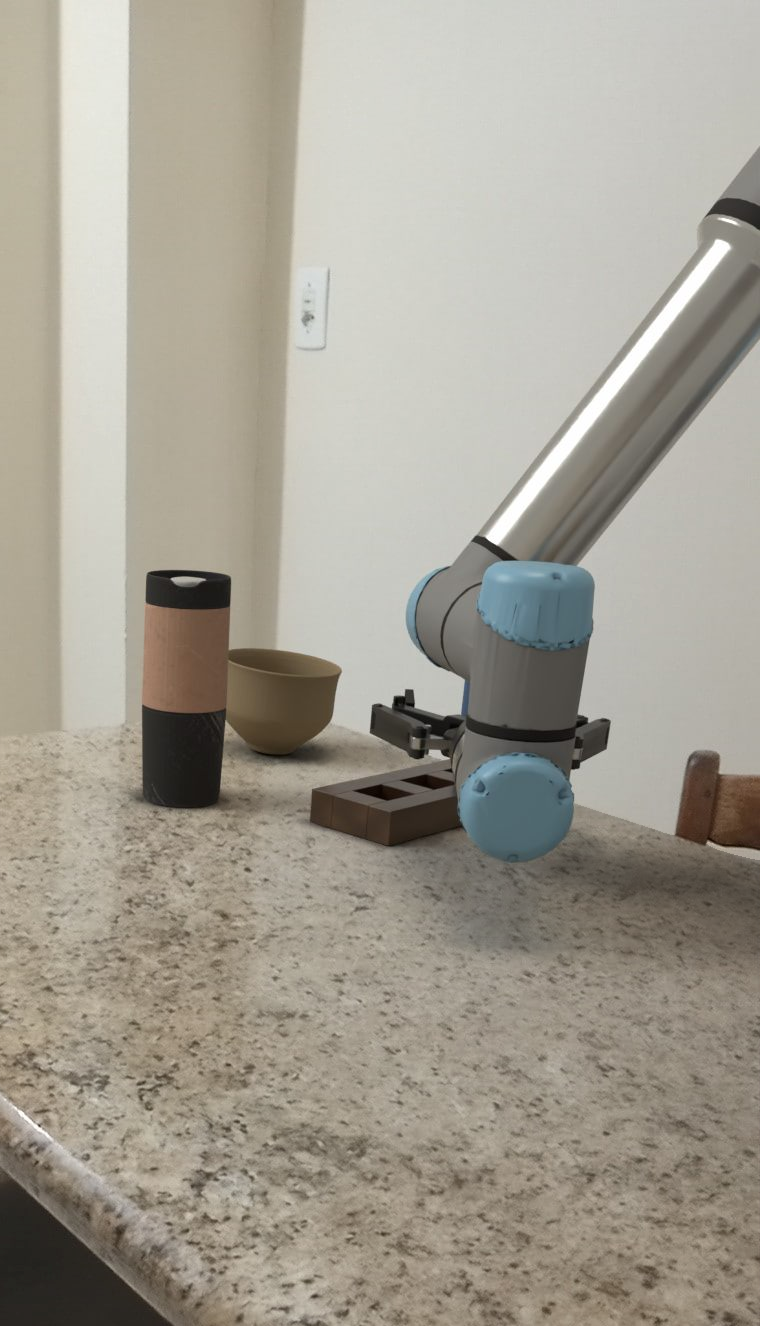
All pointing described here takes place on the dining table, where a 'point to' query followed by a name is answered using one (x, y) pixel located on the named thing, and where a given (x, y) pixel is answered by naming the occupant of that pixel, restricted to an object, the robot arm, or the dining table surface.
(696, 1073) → the dining table surface
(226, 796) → the dining table surface
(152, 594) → the travel mug
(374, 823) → the rack
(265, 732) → the bowl
